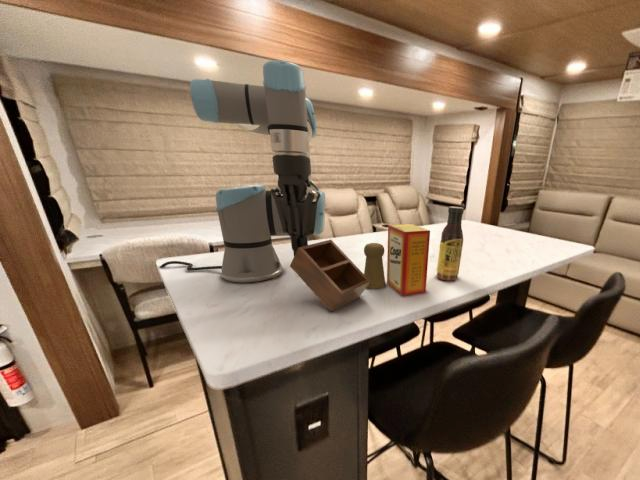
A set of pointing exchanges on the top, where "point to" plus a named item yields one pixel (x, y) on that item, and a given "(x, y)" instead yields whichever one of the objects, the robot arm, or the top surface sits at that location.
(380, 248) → the cork
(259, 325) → the top surface
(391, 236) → the baking soda box
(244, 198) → the robot arm
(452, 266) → the sauce bottle
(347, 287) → the walnut shelf
